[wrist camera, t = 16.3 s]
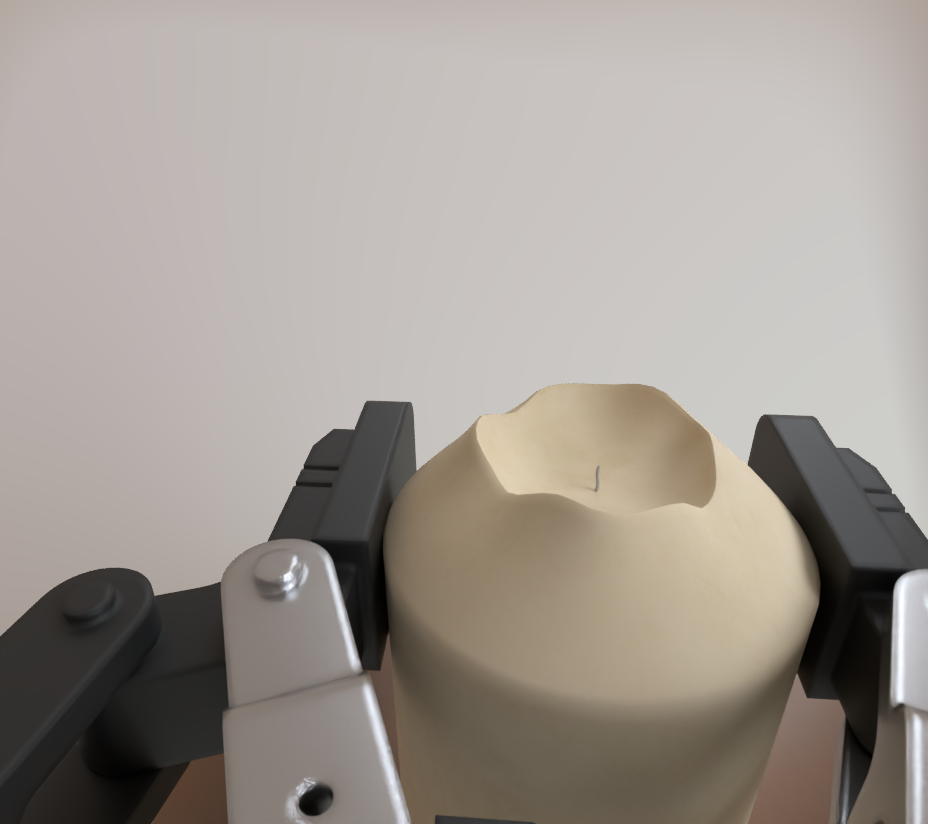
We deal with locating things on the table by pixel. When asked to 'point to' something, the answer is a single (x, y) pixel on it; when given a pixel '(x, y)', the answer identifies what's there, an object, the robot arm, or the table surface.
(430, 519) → the candle
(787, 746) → the shelf
